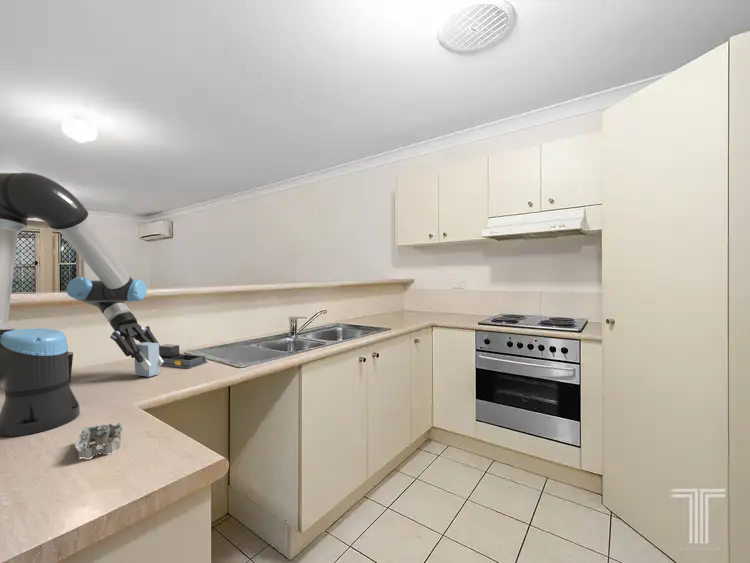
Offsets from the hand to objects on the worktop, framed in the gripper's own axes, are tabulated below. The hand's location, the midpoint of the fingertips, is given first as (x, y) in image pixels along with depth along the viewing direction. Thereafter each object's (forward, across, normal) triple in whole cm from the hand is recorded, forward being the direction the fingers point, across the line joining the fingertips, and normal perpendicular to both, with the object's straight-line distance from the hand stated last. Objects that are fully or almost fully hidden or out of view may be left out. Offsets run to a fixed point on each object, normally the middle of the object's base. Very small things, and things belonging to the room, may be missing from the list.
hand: (154, 366), depth 123 cm
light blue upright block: (0, 0, -5) cm, 5 cm away
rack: (-2, -15, -7) cm, 17 cm away
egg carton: (+27, +39, +21) cm, 52 cm away
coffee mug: (-15, +16, -21) cm, 31 cm away
